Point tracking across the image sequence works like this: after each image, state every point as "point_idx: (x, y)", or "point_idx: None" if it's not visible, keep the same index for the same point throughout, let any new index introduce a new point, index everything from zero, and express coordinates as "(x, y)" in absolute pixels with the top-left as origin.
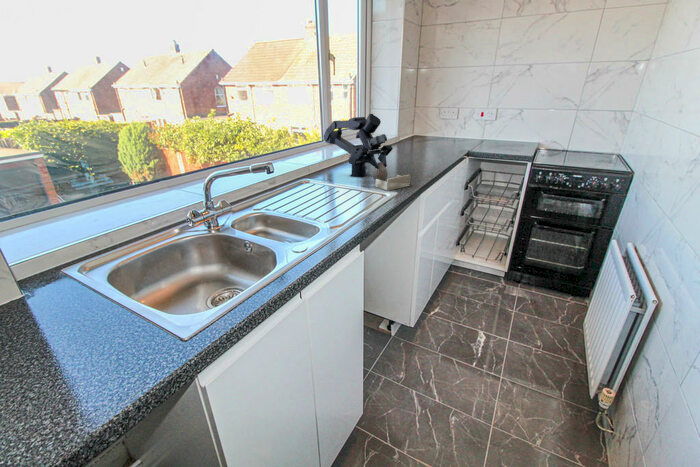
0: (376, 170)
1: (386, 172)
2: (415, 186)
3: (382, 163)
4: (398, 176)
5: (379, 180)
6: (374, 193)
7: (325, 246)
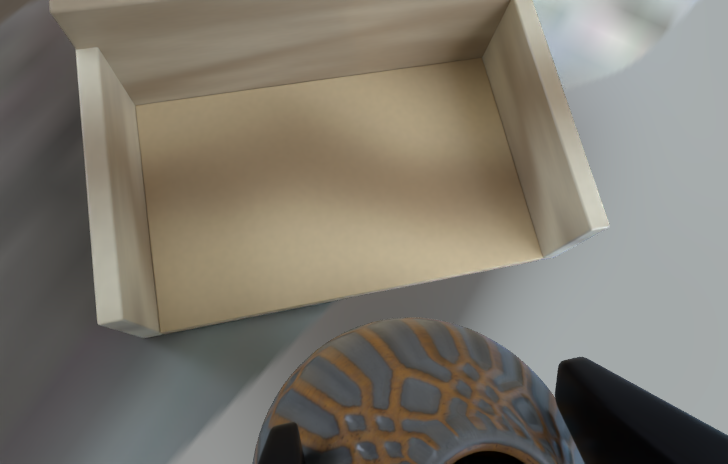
0: None
1: (334, 342)
2: None
3: (438, 442)
4: (123, 262)
5: (577, 138)
6: (663, 30)
7: None
